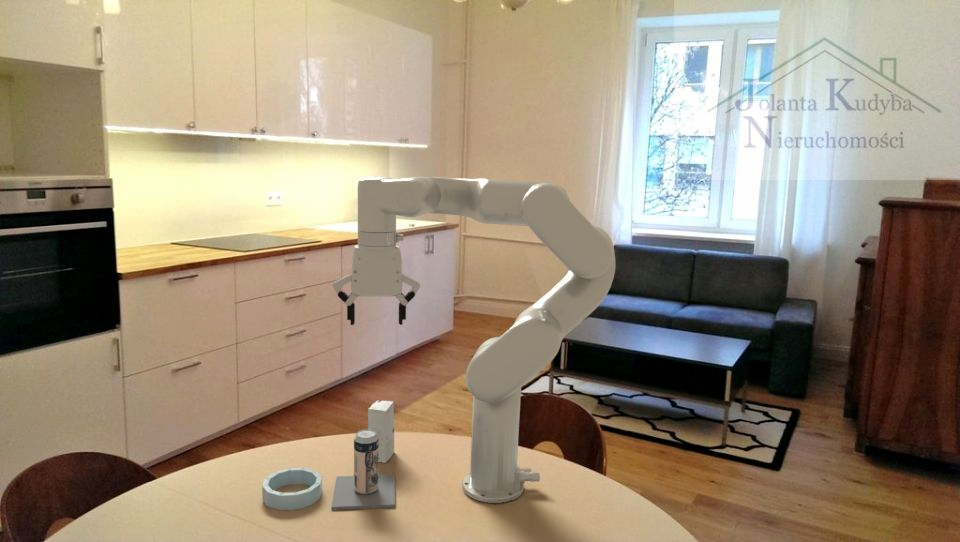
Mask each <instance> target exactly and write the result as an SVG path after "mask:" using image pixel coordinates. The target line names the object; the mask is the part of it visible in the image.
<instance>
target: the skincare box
mask: <svg viewBox="0 0 960 542" xmlns="http://www.w3.org/2000/svg"><path fill="white" fill-rule="evenodd" d="M367 430H373V431H375V432H376V434H377V436H378V438H379V452H378V463H381V462H382V463H383V464H386V463H387V462H388V461H389V459H391V458H392V456H393V454H394V452H395V403H394V401H392V400H380V399H379V400H376V401H375V402H374V403H372V404H371V406H370V407H368V409H367Z"/></svg>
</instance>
